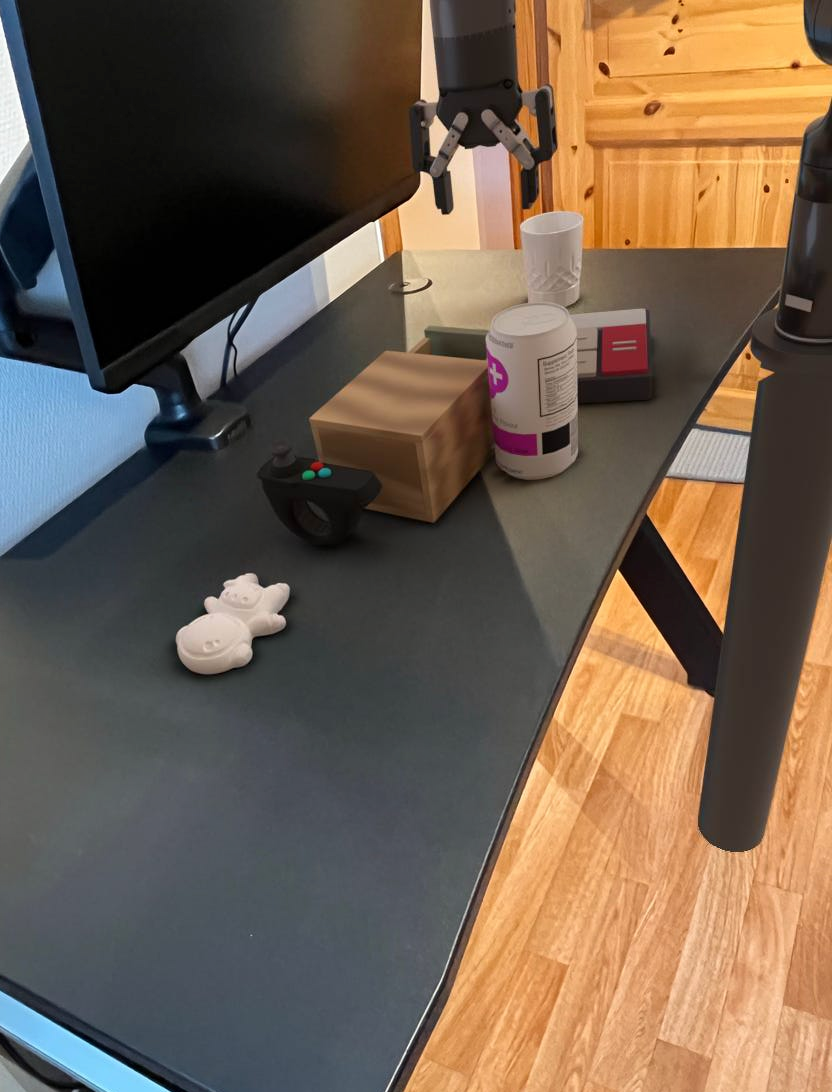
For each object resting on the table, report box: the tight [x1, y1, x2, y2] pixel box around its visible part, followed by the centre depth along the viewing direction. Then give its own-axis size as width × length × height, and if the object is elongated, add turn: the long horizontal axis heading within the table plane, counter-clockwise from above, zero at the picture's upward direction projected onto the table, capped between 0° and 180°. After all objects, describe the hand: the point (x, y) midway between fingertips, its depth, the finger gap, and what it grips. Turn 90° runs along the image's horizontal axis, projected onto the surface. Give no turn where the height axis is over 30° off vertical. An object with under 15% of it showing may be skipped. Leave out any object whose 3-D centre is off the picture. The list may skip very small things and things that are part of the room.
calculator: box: [569, 308, 654, 405], centre depth 99 cm, size 11×4×15 cm
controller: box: [256, 441, 382, 547], centre depth 82 cm, size 4×12×10 cm, turn 59°
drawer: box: [407, 325, 489, 361], centre depth 94 cm, size 18×11×8 cm, turn 147°
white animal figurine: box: [175, 572, 291, 675], centre depth 77 cm, size 9×12×3 cm
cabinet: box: [308, 350, 495, 524], centre depth 88 cm, size 15×13×10 cm
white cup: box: [519, 210, 584, 308], centre depth 114 cm, size 8×8×10 cm
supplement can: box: [486, 302, 579, 481], centre depth 84 cm, size 8×8×15 cm
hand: (487, 209), depth 90 cm, fingers open, 8 cm apart
